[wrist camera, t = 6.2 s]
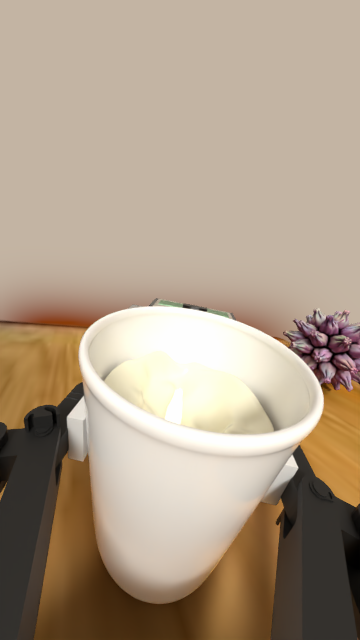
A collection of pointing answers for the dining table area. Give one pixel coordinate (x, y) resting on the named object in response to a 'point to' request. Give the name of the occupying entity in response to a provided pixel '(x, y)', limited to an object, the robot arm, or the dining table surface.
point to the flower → (328, 347)
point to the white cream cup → (184, 438)
